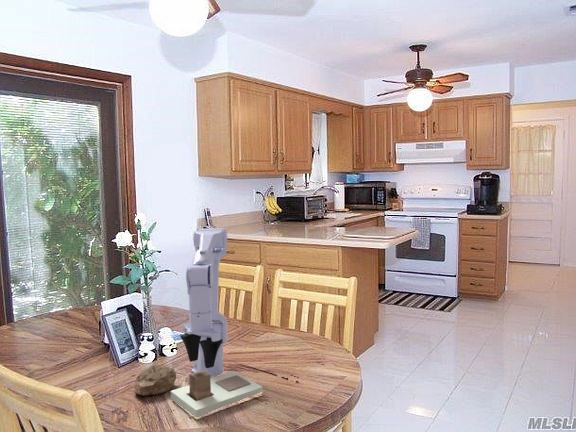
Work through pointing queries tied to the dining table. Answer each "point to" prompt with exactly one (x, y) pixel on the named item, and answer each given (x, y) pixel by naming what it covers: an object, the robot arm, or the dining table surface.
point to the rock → (155, 380)
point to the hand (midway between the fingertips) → (201, 363)
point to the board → (217, 393)
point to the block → (199, 385)
